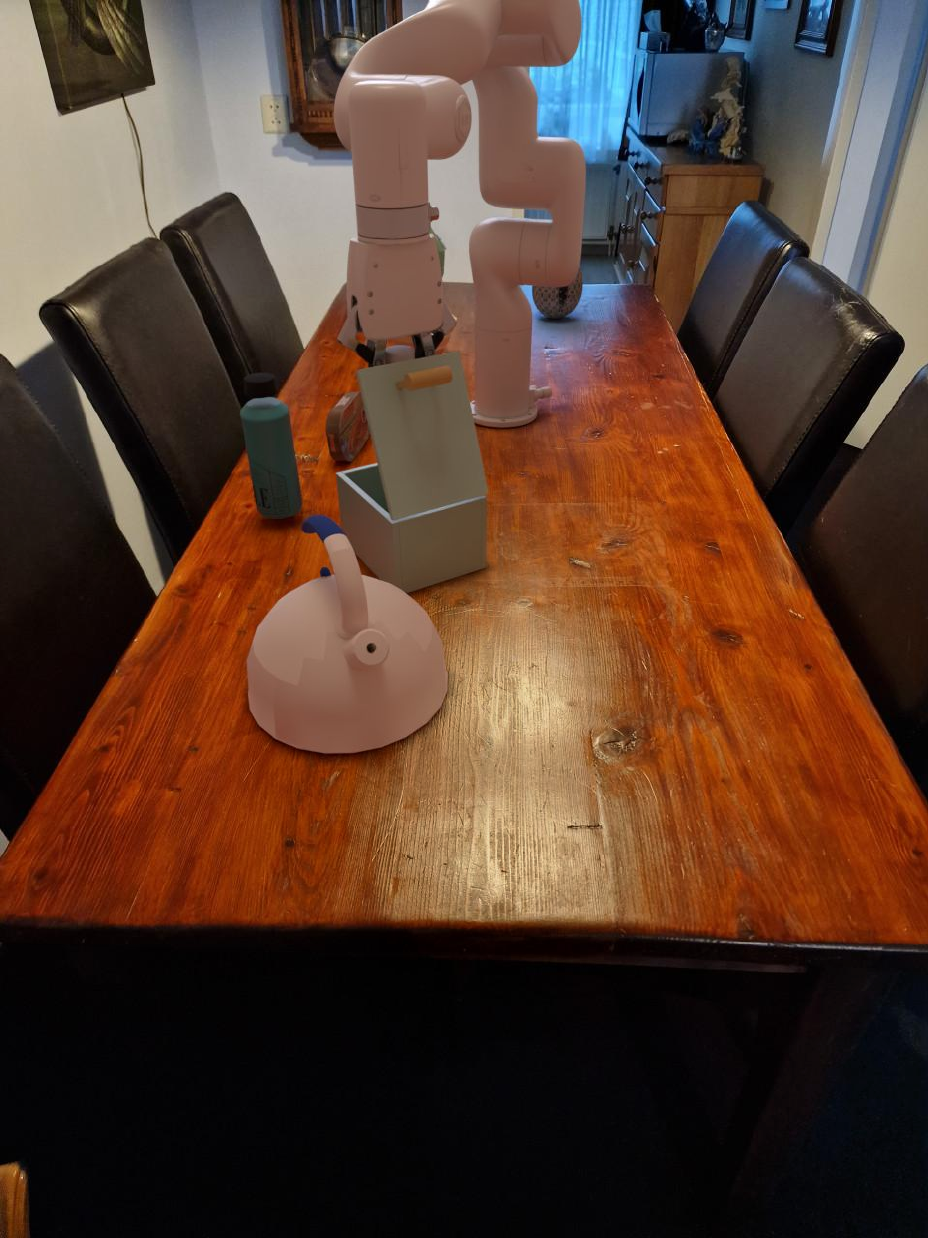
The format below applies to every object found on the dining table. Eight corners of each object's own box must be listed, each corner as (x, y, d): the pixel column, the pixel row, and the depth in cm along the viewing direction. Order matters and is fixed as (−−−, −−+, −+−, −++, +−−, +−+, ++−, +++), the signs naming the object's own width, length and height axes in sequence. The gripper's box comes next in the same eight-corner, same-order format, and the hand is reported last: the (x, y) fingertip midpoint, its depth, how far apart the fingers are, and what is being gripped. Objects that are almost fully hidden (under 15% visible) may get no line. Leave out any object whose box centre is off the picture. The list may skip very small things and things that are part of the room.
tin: (345, 470, 125) (340, 418, 121) (326, 469, 126) (320, 416, 121) (373, 433, 137) (370, 384, 133) (355, 431, 138) (351, 382, 133)
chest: (342, 540, 108) (335, 472, 102) (425, 517, 113) (423, 451, 107) (396, 596, 97) (392, 523, 91) (486, 567, 102) (487, 497, 96)
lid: (355, 370, 87) (372, 363, 83) (456, 351, 92) (478, 344, 88) (390, 520, 91) (409, 521, 87) (485, 493, 97) (507, 493, 92)
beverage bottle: (313, 511, 115) (295, 369, 103) (290, 533, 109) (269, 387, 98) (272, 504, 116) (250, 364, 105) (247, 525, 111) (222, 381, 100)
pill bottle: (419, 407, 98) (417, 342, 94) (421, 421, 95) (419, 354, 90) (383, 408, 98) (379, 343, 94) (383, 422, 95) (379, 355, 90)
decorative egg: (526, 312, 198) (529, 245, 190) (574, 310, 200) (578, 244, 191) (535, 325, 189) (538, 256, 180) (585, 324, 190) (590, 254, 181)
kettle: (274, 785, 72) (241, 619, 62) (231, 653, 88) (199, 503, 77) (481, 722, 79) (484, 562, 68) (407, 610, 94) (400, 466, 84)
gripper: (445, 210, 91) (447, 372, 101) (302, 225, 84) (321, 398, 94) (481, 220, 85) (479, 390, 96) (332, 237, 78) (348, 419, 89)
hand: (401, 392), depth 95 cm, fingers closed on pill bottle, 4 cm apart
